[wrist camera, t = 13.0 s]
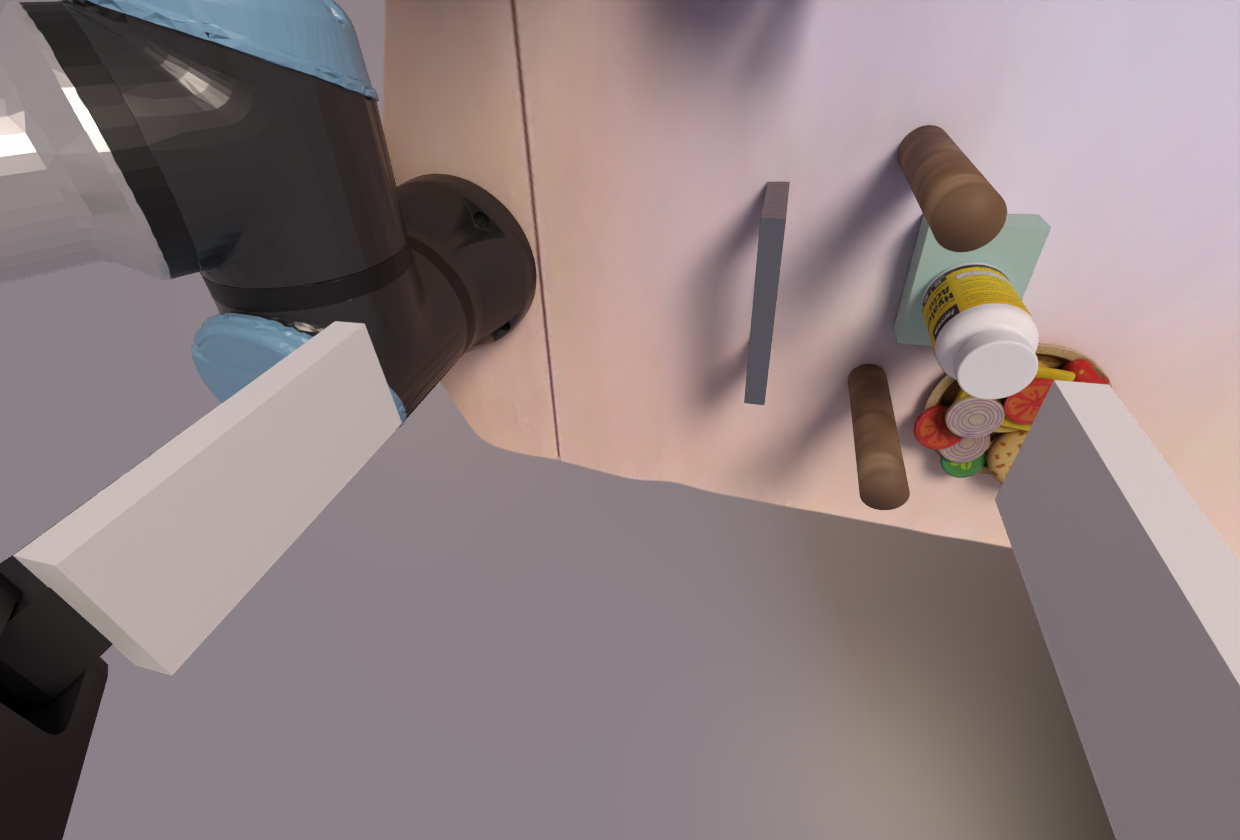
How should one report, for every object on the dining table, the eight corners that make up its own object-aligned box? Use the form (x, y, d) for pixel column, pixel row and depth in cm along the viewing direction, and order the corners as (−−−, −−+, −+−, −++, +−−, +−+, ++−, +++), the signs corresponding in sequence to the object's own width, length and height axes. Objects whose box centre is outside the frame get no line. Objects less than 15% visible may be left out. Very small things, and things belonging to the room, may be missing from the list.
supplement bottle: (930, 258, 38) (958, 326, 31) (1020, 260, 37) (1073, 331, 30) (911, 329, 42) (933, 405, 34) (994, 333, 40) (1036, 413, 33)
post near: (893, 174, 38) (925, 251, 27) (904, 125, 36) (942, 187, 26) (941, 174, 37) (994, 253, 27) (955, 124, 36) (1017, 188, 25)
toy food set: (1048, 481, 49) (1061, 507, 47) (892, 449, 52) (896, 473, 49) (1146, 353, 41) (1167, 377, 39) (954, 322, 43) (963, 342, 41)
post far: (845, 392, 49) (856, 506, 38) (851, 363, 47) (864, 474, 37) (882, 395, 48) (903, 512, 38) (890, 365, 46) (914, 480, 36)
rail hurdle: (752, 350, 49) (744, 403, 43) (767, 181, 40) (760, 218, 34) (769, 351, 48) (764, 404, 42) (789, 182, 40) (785, 218, 34)
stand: (893, 328, 44) (897, 343, 43) (923, 212, 39) (929, 224, 37) (992, 334, 43) (1001, 350, 41) (1038, 214, 37) (1050, 227, 35)
